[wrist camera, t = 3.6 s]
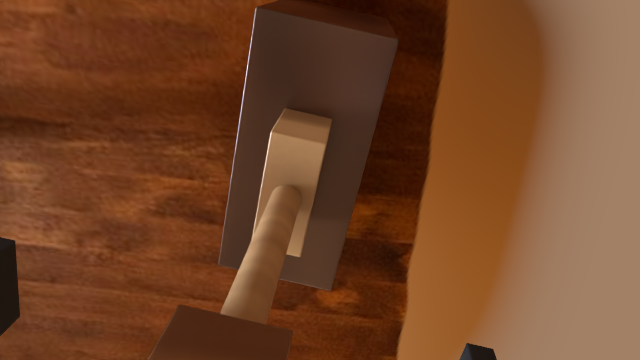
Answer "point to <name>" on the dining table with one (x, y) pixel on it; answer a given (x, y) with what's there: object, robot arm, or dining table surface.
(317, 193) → the stand
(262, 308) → the wooden mallet
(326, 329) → the dining table surface
